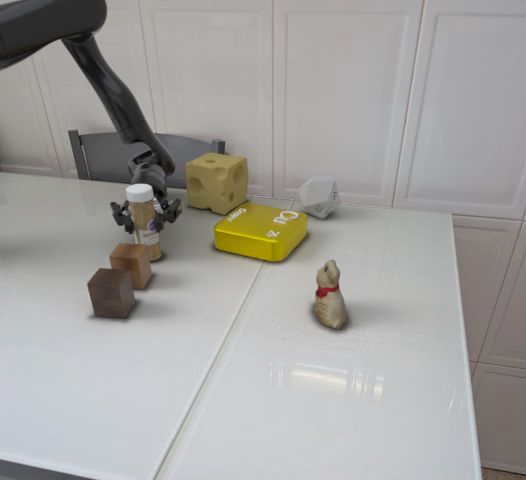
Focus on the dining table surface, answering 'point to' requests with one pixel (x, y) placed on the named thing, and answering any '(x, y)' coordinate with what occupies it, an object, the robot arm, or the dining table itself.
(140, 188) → the sprinkles bottle
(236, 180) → the cheese
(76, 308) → the dining table surface
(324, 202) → the die
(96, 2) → the robot arm
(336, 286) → the chocolate bunny
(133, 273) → the oak block
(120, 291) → the walnut block
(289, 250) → the element tile
